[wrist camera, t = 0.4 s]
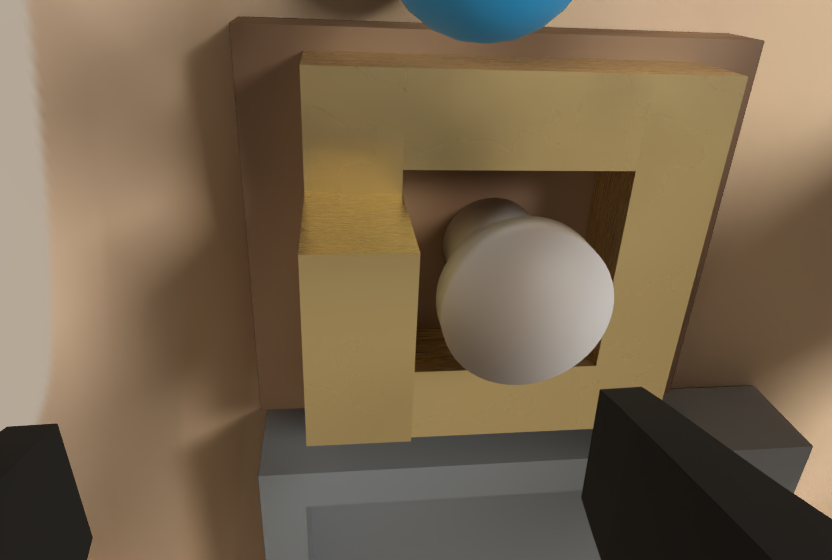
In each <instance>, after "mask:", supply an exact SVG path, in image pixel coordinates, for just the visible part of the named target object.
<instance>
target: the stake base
mask: <svg viewBox="0 0 832 560" xmlns="http://www.w3.org/2000/svg"><path fill="white" fill-rule="evenodd" d="M229 30H230V42H231V54H232V66H233V78H234V90H235V102H236V114H237V126H238V138H239V151H240V163H241V175H242V187H243V199H244V211H245V223H246V235H247V247H248V259H249V271H250V283H251V295H252V307H253V320H254V332H255V344H256V356H257V368H258V380H259V392H260V404H261V410H272V409H297V408H305V402H304V379H303V356H302V334H301V311H300V289H299V266H298V250H299V240H300V231H301V221H302V211H303V201H304V171H303V144H302V118H301V91H300V61H301V57H302V54H303V50H305V51H340V52H375V53H410V54H445V55H480V56H515V57H550V58H585V59H621V60H656V61H691V62H701V63H704V64H708V65H711V66H715V67H718V68H721V69H725V70H728V71H731V72H735V73H738V74H742V75H745V76H748V80H747V84H746V88H745V91H744V95H743V99H742V103H741V106H740V110H739V114H738V118H737V121H736V125H735V129H734V133H733V136H732V140H731V144H730V148H729V151H728V155H727V159H726V163H725V166H724V170H723V174H722V178H721V181H720V185H719V189H718V192H717V196H716V200H715V204H714V207H713V211H712V215H711V219H710V222H709V226H708V230H707V234H706V237H705V241H704V245H703V249H702V252H701V256H700V260H699V264H698V267H697V271H696V275H695V279H694V282H693V286H692V290H691V294H690V297H689V301H688V305H687V309H686V312H685V316H684V320H683V324H682V327H681V331H680V335H679V339H678V342H677V346H676V350H675V354H674V357H673V361H672V365H671V369H670V372H669V376H668V380H667V384H666V387H665V391H664V393H669V391H670V387H671V384H672V380H673V376H674V373H675V369H676V365H677V362H678V358H679V354H680V351H681V347H682V343H683V339H684V336H685V332H686V328H687V325H688V321H689V317H690V314H691V310H692V306H693V303H694V299H695V295H696V292H697V288H698V284H699V280H700V277H701V273H702V269H703V266H704V262H705V258H706V255H707V251H708V247H709V244H710V240H711V236H712V233H713V229H714V225H715V221H716V218H717V214H718V210H719V207H720V203H721V199H722V196H723V192H724V188H725V185H726V181H727V177H728V174H729V170H730V166H731V163H732V159H733V155H734V151H735V148H736V144H737V140H738V137H739V133H740V129H741V126H742V122H743V118H744V115H745V111H746V107H747V104H748V100H749V96H750V92H751V89H752V85H753V81H754V78H755V74H756V70H757V67H758V63H759V59H760V56H761V52H762V48H763V45H764V41H763V40H758V39H753V38H748V37H743V36H738V35H733V34H728V33H699V32H670V31H642V30H613V29H584V28H555V27H542V28H541V29H538V30H536V31H534V32H532V33H530V34H527V35H525V36H523V37H521V38H519V39H517V40H513V41H505V42H497V43H489V44H484V43H474V42H463V41H458V40H455V39H453V38H450V37H448V36H446V35H443V34H441V33H438V32H436V31H433V30H432V29H430V28H429V27H428V26H427V25H426V24H424V23H411V22H382V21H353V20H324V19H295V18H267V17H237V18H235V19H234V20H232V21H231V22H229ZM595 176H596V171H503V170H403V184H402V194H403V198H404V201H405V204H406V208H407V211H408V214H409V217H410V221H411V224H412V227H413V231H414V234H415V237H416V240H417V244H418V247H419V250H420V272H419V292H418V312H417V329H421V328H441V329H442V332H443V335H444V338H445V342H446V344H447V346H448V348H449V350H450V352H451V354H452V355H453V356H454V358H455V359H456V360H457V361H458V362H459V363H460V364H461V366H462V367H464V368H465V369H466V370H468V371H469V372H470V373H472V374H474V375H476V376H477V377H479V378H482V379H484V380H487V381H490V382H494V383H498V384H506V385H524V384H532V383H537V382H541V381H544V380H547V379H551V378H553V377H555V376H558V375H560V374H562V373H564V372H565V371H567V370H569V369H571V368H572V367H573V366H575V365H576V364H578V363H579V362H580V361H581V360H583V359H584V358H585V357H586V356H587V355H588V354H589V353H590V352H591V351H592V350H593V349H594V348H595V346H596V345H597V344H598V342H599V341H600V340H601V338H602V336H603V334H604V333H605V331H606V329H607V327H608V324H609V322H610V319H611V315H612V312H613V305H614V288H613V282H612V279H611V275H610V272H609V270H608V268H607V267H606V265H605V263H604V262H603V260H602V259H601V257H600V256H599V255H598V254H597V253H596V252H595V250H594V249H593V248H592V247H591V246H590V245H589V244H588V243H587V241H586V240H585V233H586V228H587V222H588V216H589V210H590V205H591V199H592V193H593V188H594V182H595Z"/></svg>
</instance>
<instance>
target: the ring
mask: <svg viewBox="0 0 832 560" xmlns="http://www.w3.org/2000/svg"><path fill="white" fill-rule="evenodd" d="M747 80H748V76H745V75H742V74H738V73H735V72H731V71H728V70H725V69H721V68H718V67H715V66H711V65H708V64H704V63H701V62H691V61H656V60H621V59H585V58H550V57H515V56H480V55H445V54H410V53H375V52H340V51H305V50H303V54H302V57H301V61H300V91H301V118H302V144H303V171H304V201H303V211H302V221H301V231H300V240H299V250H298V266H299V289H300V311H301V334H302V356H303V379H304V402H305V424H306V446H324V445H345V444H365V443H386V442H407V441H411V437H430V436H451V435H472V434H493V433H514V432H535V431H556V430H577V429H593V426H594V420H595V414H596V408H597V403H598V397H599V391H600V389H612V388H628V387H643V388H645V389H646V390H648V391H649V392H651V393H652V394H654V395H655V396H657V397H658V398H660V399H661V400H662V399H663V395H664V391H665V387H666V384H667V380H668V376H669V372H670V369H671V365H672V361H673V357H674V354H675V350H676V346H677V342H678V339H679V335H680V331H681V327H682V324H683V320H684V316H685V312H686V309H687V305H688V301H689V297H690V294H691V290H692V286H693V282H694V279H695V275H696V271H697V267H698V264H699V260H700V256H701V252H702V249H703V245H704V241H705V237H706V234H707V230H708V226H709V222H710V219H711V215H712V211H713V207H714V204H715V200H716V196H717V192H718V189H719V185H720V181H721V178H722V174H723V170H724V166H725V163H726V159H727V155H728V151H729V148H730V144H731V140H732V136H733V133H734V129H735V125H736V121H737V118H738V114H739V110H740V106H741V103H742V99H743V95H744V91H745V88H746V84H747ZM403 170H503V171H596V176H595V182H594V188H593V193H592V199H591V205H590V210H589V216H588V222H587V228H586V233H585V240H586V241H587V243H588V244H589V245H590V246H591V247H592V248H593V249H594V250H595V252H596V253H597V254H598V255H599V256H600V257H601V259H602V260H603V262H604V263H605V265H606V267H607V268H608V270H609V272H610V275H611V279H612V282H613V288H614V305H613V312H612V315H611V319H610V322H609V324H608V327H607V329H606V331H605V333H604V334H603V336H602V338H601V340H600V341H599V342H598V344H597V345H596V346H595V348H594V349H593V350H592V351H591V352H590V353H589V354H588V355H587V356H586V357H585V358H584V359H583V360H581V361H580V362H579V363H578V364H576V365H575V366H573V367H572V368H571V369H569V370H567V371H565V372H564V373H562V374H560V375H558V376H555V377H553V378H551V379H547V380H544V381H541V382H537V383H532V384H524V385H506V384H498V383H494V382H490V381H487V380H484V379H482V378H479V377H477V376H476V375H474V374H472V373H470V372H469V371H468V370H466V369H465V368H464V367H462V366H461V364H460V363H459V362H458V361H457V360H456V359H455V358H454V356H453V355H452V354H451V352H450V350H449V348H448V346H447V344H446V342H445V338H444V335H443V332H442V329H441V328H421V329H417V312H418V292H419V272H420V250H419V247H418V244H417V240H416V237H415V234H414V231H413V227H412V224H411V221H410V217H409V214H408V211H407V208H406V204H405V201H404V198H403V194H402V184H403Z"/></svg>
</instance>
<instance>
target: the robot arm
mask: <svg viewBox="0 0 832 560" xmlns="http://www.w3.org/2000/svg"><path fill="white" fill-rule="evenodd" d="M581 499H582V502H583V506H584V509H585V512H586V515H587V518H588V522H589V525H590V528H591V531H592V535H593V538H594V541H595V543H596V546H597V549H598V552H599V555H600V558H601V560H832V519H831V518H829V517H828V516H826V515H825V514H823V513H822V512H820V511H819V510H817V509H816V508H814V507H813V506H811V505H810V504H808V503H807V502H805V501H804V500H802V499H801V498H799V497H798V496H796V495H795V494H793V493H792V492H790V491H789V490H788V489H786V488H785V487H783V486H782V485H780V484H779V483H777V482H776V481H774V480H773V479H772V478H770V477H769V476H767V475H766V474H765V473H763V472H762V471H760V470H759V469H757V468H756V467H755V466H753V465H752V464H750V463H749V462H747V461H746V460H745V459H743V458H742V457H740V456H739V455H738V454H736V453H735V452H733V451H732V450H731V449H729V448H728V447H727V446H725V445H724V444H722V443H721V442H720V441H718V440H717V439H715V438H714V437H713V436H711V435H710V434H709V433H707V432H706V431H704V430H703V429H702V428H700V427H699V426H698V425H696V424H695V423H693V422H692V421H691V420H689V419H688V418H686V417H685V416H684V415H682V414H681V413H679V412H678V411H677V410H675V409H674V408H673V407H671V406H670V405H668V404H667V403H665V402H664V401H663V400H661V399H660V398H658V397H657V396H655V395H654V394H652V393H651V392H649V391H648V390H646V389H645V388H643V387H628V388H612V389H600V391H599V397H598V403H597V408H596V414H595V420H594V426H593V432H592V437H591V443H590V449H589V455H588V461H587V466H586V472H585V478H584V484H583V490H582V495H581ZM92 538H93V537H92V534H91V531H90V527H89V524H88V521H87V518H86V515H85V511H84V508H83V505H82V502H81V498H80V495H79V492H78V489H77V485H76V482H75V479H74V476H73V473H72V469H71V466H70V463H69V460H68V456H67V453H66V450H65V447H64V443H63V440H62V437H61V434H60V431H59V427H58V424H44V425H28V426H12V427H6V428H5V429H3V430H2V431H0V560H87V557H88V554H89V550H90V546H91V542H92Z"/></svg>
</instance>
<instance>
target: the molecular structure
mask: <svg viewBox="0 0 832 560" xmlns="http://www.w3.org/2000/svg"><path fill="white" fill-rule="evenodd" d="M571 1H572V0H402V2H403V3H404V5H405V6H406V7H407V9H408V10H409V11H410V12H411V13H412V14H413V15H415V16H416V17H417V18H418V19H420V20H421V21H422V22H423V23H424V24H426V25H427V26H428V27H429V28H430V29H432V30H433V31H436V32H438V33H441V34H443V35H446V36H448V37H450V38H453V39H455V40H458V41H463V42H474V43H484V44H489V43H497V42H505V41H513V40H517V39H519V38H521V37H523V36H525V35H527V34H530V33H532V32H534V31H536V30H538V29H541V28H542V27H544V26H545V25H546V24H547V23H548V22H550V21H551V20H552V19H553V18H555V17H556V16H557V15H558V14H560V13H561V12H562V11H563V10H564V9H565V8H566V7H567V6H568V4H569V3H570V2H571Z"/></svg>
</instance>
